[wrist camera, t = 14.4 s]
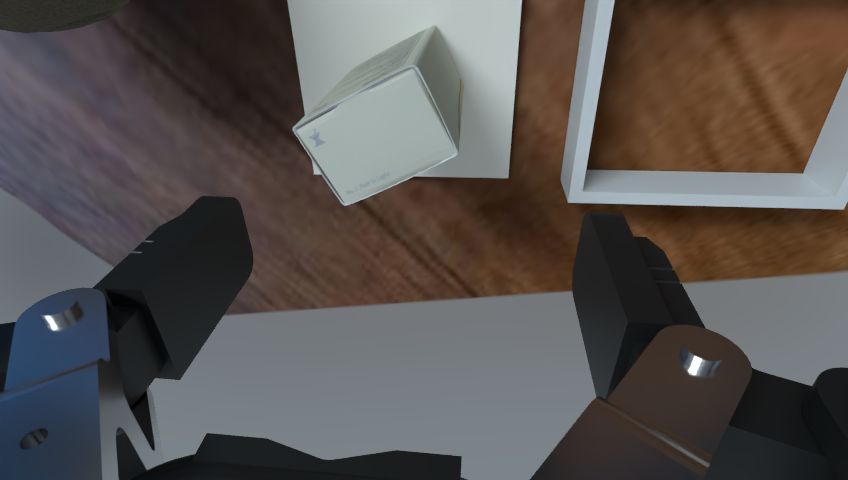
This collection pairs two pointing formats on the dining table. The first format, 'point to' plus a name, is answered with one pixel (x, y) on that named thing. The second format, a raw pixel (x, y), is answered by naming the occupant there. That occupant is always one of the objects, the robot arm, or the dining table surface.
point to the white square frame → (814, 189)
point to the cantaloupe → (54, 14)
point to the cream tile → (402, 18)
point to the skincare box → (387, 119)
